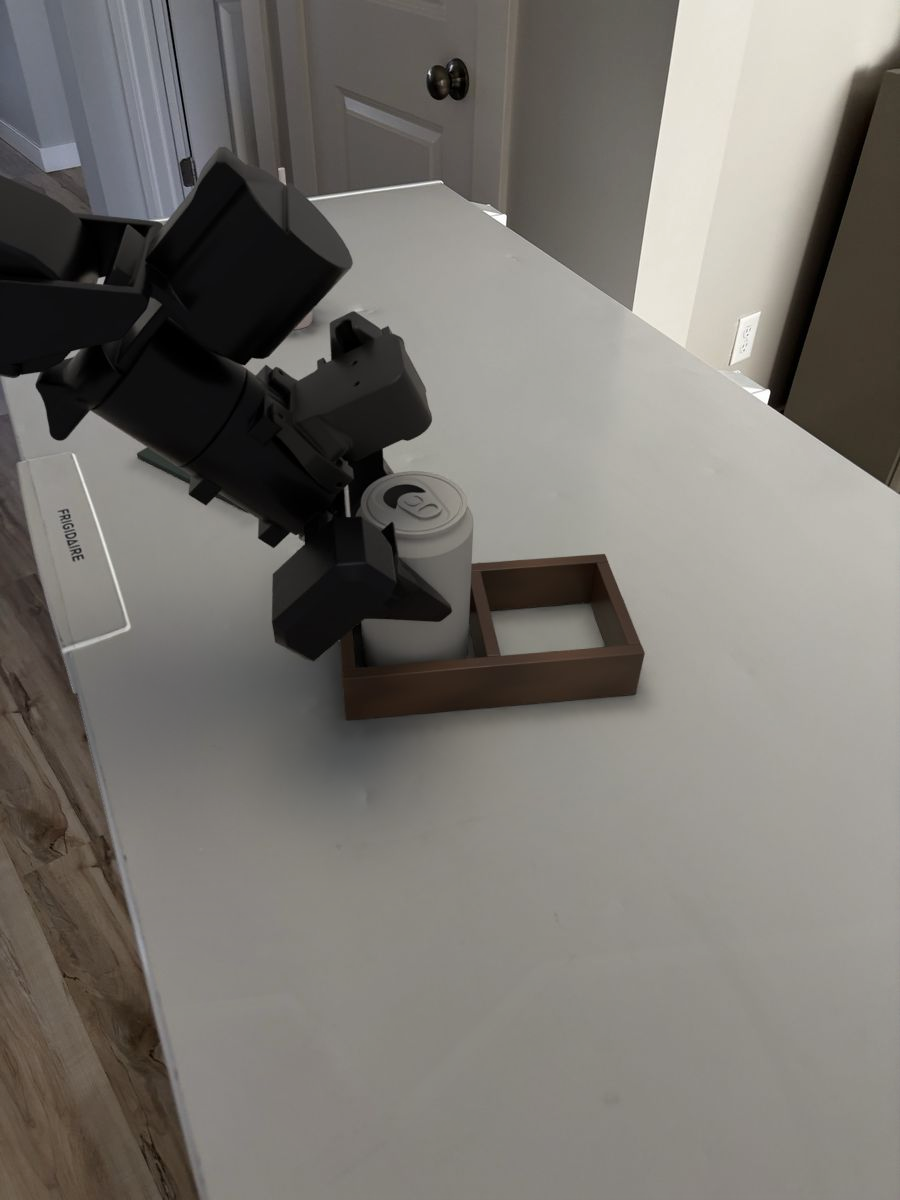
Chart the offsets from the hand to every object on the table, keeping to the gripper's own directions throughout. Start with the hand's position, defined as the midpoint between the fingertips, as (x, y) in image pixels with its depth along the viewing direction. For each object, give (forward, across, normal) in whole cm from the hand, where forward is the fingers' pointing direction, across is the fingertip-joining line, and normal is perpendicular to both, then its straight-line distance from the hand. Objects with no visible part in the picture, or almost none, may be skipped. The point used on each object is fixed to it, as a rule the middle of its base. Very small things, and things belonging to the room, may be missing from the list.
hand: (438, 575), depth 53 cm
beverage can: (+4, 0, +6) cm, 7 cm away
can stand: (+7, 0, +3) cm, 7 cm away
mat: (-4, +25, +13) cm, 28 cm away
